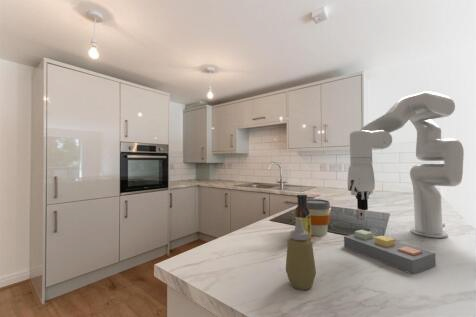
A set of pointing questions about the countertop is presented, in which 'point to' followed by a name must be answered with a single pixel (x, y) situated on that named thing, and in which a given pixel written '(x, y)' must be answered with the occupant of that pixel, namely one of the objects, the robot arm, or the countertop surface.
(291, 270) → the squeeze bottle
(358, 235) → the sage key
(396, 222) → the countertop surface
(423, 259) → the console
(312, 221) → the reusable coffee cup
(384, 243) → the ochre key
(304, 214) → the sauce bottle
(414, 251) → the terracotta key
